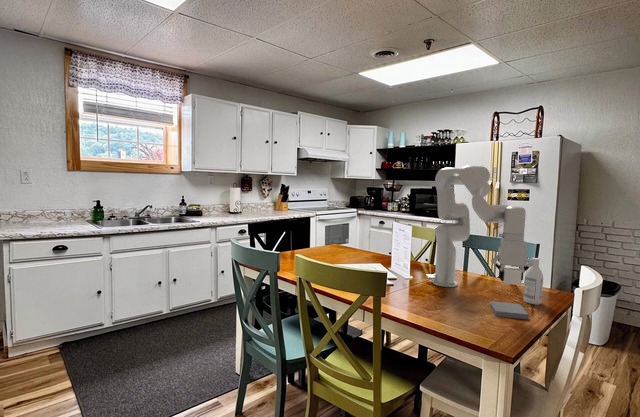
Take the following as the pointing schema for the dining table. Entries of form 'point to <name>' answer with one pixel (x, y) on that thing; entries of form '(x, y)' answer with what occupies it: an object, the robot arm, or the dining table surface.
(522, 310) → the tile
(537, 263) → the bath foam
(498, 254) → the robot arm
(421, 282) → the dining table surface
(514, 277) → the block
